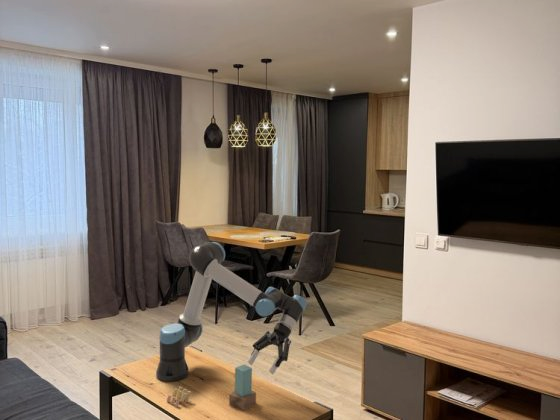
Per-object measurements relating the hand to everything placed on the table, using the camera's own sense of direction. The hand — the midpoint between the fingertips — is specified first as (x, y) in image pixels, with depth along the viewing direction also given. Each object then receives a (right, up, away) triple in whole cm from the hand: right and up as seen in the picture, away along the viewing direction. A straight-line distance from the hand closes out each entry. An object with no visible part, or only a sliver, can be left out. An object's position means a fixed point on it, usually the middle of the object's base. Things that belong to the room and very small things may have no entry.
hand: (260, 368), depth 212 cm
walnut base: (-7, -14, -6) cm, 16 cm away
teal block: (-7, -8, -6) cm, 13 cm away
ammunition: (-34, -13, -4) cm, 37 cm away
